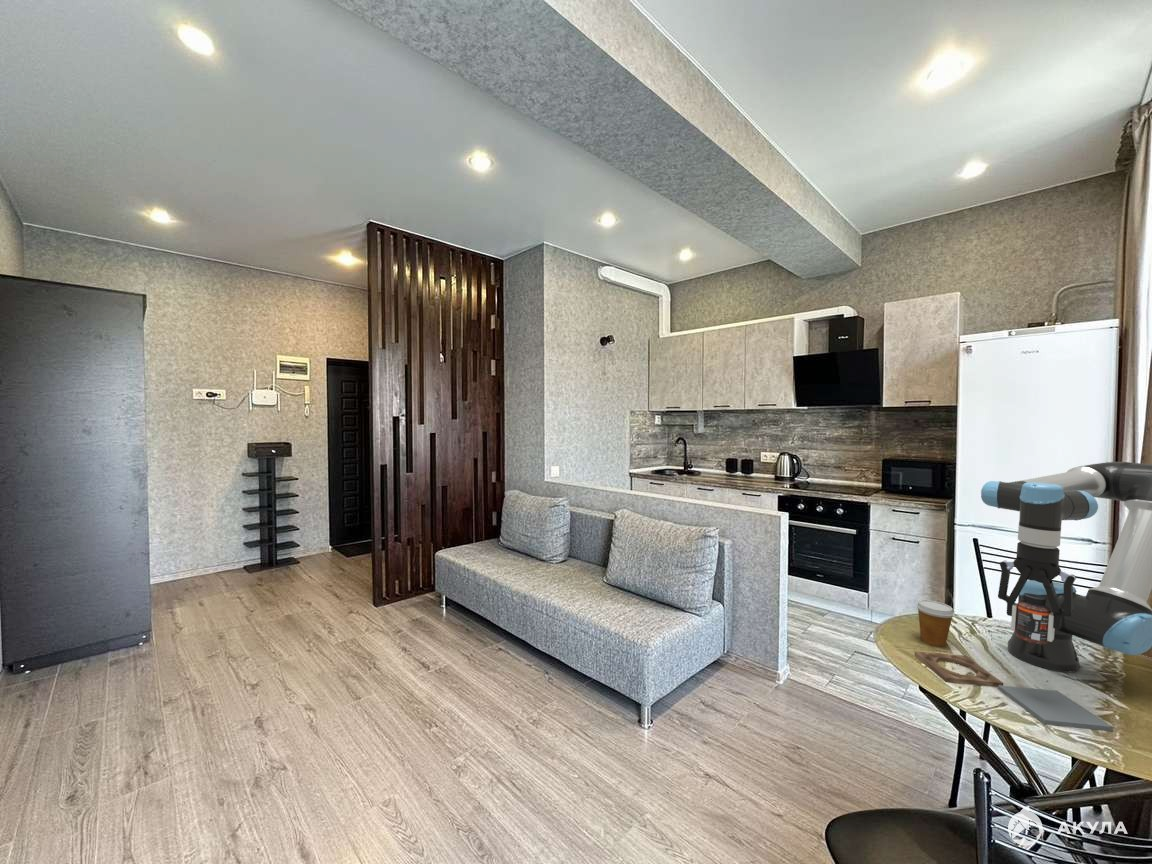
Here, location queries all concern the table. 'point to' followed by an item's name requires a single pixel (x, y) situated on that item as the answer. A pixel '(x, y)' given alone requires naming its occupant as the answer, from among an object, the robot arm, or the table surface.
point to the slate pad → (1054, 708)
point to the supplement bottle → (1032, 619)
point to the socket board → (950, 676)
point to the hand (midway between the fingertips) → (1031, 634)
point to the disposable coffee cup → (934, 622)
